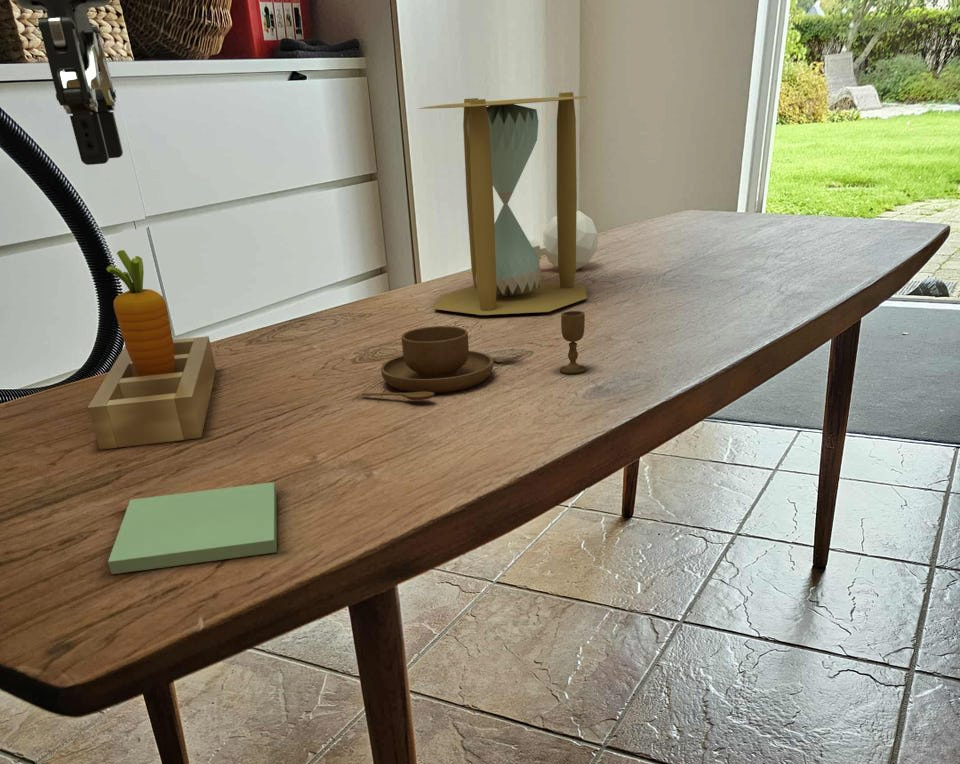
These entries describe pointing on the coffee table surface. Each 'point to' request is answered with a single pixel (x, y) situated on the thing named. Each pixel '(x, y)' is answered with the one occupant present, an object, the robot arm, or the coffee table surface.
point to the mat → (196, 528)
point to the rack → (155, 399)
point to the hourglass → (503, 245)
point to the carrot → (143, 321)
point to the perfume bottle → (584, 241)
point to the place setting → (457, 359)
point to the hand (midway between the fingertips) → (104, 160)
